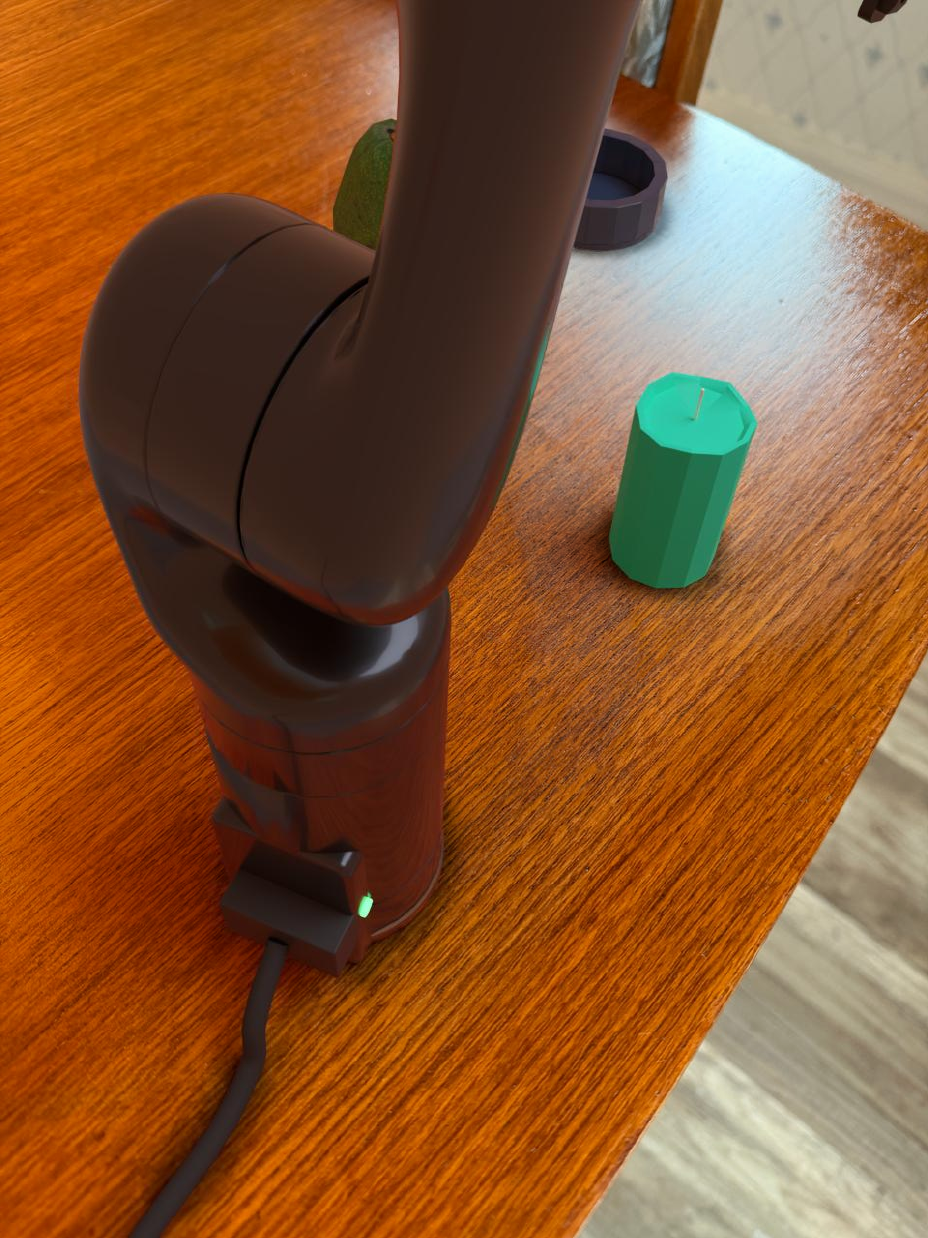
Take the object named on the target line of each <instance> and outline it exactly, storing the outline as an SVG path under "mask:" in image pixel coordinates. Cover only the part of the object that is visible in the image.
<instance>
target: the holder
mask: <svg viewBox="0 0 928 1238" xmlns="http://www.w3.org/2000/svg"><path fill="white" fill-rule="evenodd" d="M668 178H669V175H668V169H667V163H666V160H665V159H664V158H663V156H662V155H661V154H660V153H659V151H657V150H656V148H655V147H654V146H652V145H651V144H649V143H648V142H645V141H644V140H642V139H640V138H639V137H637V136H636V135H633V134H631V133H630V134H629V133H625V132H622V131H618V130H615V129H612V128H611V129H610V128H605V130H604V133H603V137H602V141H601V144H600V148H599V152H598V155H597V159H596V163H595V166H594V170H593V174H592V178H591V181H590V185H589V189H588V193H587V196H586V200H585V204H584V208H583V211H582V215H581V219H580V223H579V227H578V231H577V234H576V238H575V242H574V246H573V248H575V249H579V250H584V251H585V250H586V251H595V252H597V251H598V252H605V251H616V250H621V249H625V248H628V247H631V246H634V245H636V244H639V243H640V242H642V241H644V240H645V239H647V238H648V237H649V236H650V235H651V234H652V233H653V232H654V230H655V229H656V227H657V225H658V223H659V219H660V216H661V214H662V209H663V203H664V198H665V194H666V189H667V183H668Z"/></svg>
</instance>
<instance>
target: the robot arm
mask: <svg viewBox="0 0 928 1238" xmlns="http://www.w3.org/2000/svg"><path fill="white" fill-rule="evenodd" d="M643 2H644V0H395V7H396V16H397V26H398V27H397V28H398V87H397V88H398V89H397V106H396V119H395V120H396V128H395V137H394V145H393V154H392V162H391V169H390V175H389V181H388V188H387V194H386V200H385V206H384V213H383V218H382V223H381V227H380V232H379V237H378V242H377V247H376V251H375V250H373V249H371V248H369V247H367V246H365V245H363V244H360V243H358V242H356V241H354V240H352V239H350V238H348V237H346V236H344V235H342V234H339V233H337V232H335V231H333V229H330V228H328V227H327V226H325V225H323V224H321V223H318V222H316V221H313V220H312V219H309V218H308V217H306V216H304V215H301V214H299V213H298V212H295V211H293V210H291V209H289V208H286V207H284V206H282V205H280V204H277V203H275V202H272V201H270V200H267V199H264V198H260V197H257V196H253V195H250V194H245V193H237V192H224V193H223V192H222V193H220V192H219V193H208V194H202V195H199V196H195V197H192V198H189V199H186V200H184V201H182V202H180V203H178V204H175V205H173V206H172V207H169V208H167V209H166V210H164V211H163V212H161V213H159V214H158V215H157V216H155V217H154V218H153V219H151V220H150V221H149V222H146V224H145V225H143V226H142V227H141V229H139V230H138V231H137V232H136V233H135V234H134V235H133V236H132V237H131V238H130V240H129V241H128V242H127V243H126V245H124V247H123V248H122V249H121V251H120V252H119V254H118V255H117V257H116V258H115V260H114V261H113V263H112V264H111V266H110V268H109V270H108V272H107V274H106V275H105V277H104V279H103V281H102V283H101V285H100V287H99V289H98V292H97V294H96V297H95V298H94V301H93V304H92V307H91V310H90V313H89V316H88V319H87V323H86V326H85V330H84V335H83V338H82V344H81V352H80V358H79V359H80V360H79V371H78V372H79V373H78V410H79V423H80V427H81V428H80V429H81V433H82V440H83V444H84V450H85V454H86V458H87V463H88V464H89V468H90V472H91V475H92V478H93V479H92V480H93V482H94V486H95V488H96V491H97V493H98V497H99V499H100V503H101V505H102V508H103V510H104V511H103V512H104V513H105V517H106V518H107V522H108V524H109V526H110V528H111V532H112V534H113V536H114V539H115V541H116V544H117V546H118V549H119V553H120V556H121V557H122V559H123V563H124V565H125V568H126V570H127V572H128V575H129V577H130V580H131V582H132V585H133V588H134V591H135V593H136V596H137V598H138V601H139V603H140V605H141V607H142V610H143V613H144V614H145V616H146V618H147V620H148V622H149V623H150V626H151V627H152V628H153V630H154V631H155V633H156V635H157V636H158V637H159V639H160V640H161V641H162V643H163V644H164V645H165V646H166V647H167V649H168V650H169V651H170V652H171V653H172V654H173V655H174V656H175V658H177V660H178V661H179V662H180V663H181V664H182V665H183V666H184V667H185V669H186V670H187V671H188V672H187V673H188V675H189V678H190V680H191V683H192V688H193V691H194V694H195V698H196V701H197V705H198V709H199V712H200V713H199V714H200V716H201V721H202V724H203V728H204V732H205V736H206V740H207V742H208V746H209V747H208V748H209V750H210V753H211V754H210V755H211V757H212V761H213V764H214V768H215V773H216V775H217V780H218V783H219V786H220V790H221V794H222V795H221V797H220V799H219V800H218V802H217V803H216V805H215V807H214V808H213V810H212V812H211V814H210V817H209V818H210V821H211V825H212V829H213V831H214V835H215V838H216V841H217V842H216V843H217V845H218V848H219V852H220V855H221V857H222V862H223V865H224V868H225V871H226V875H227V878H228V881H229V884H228V886H227V888H226V889H225V892H224V893H223V894H222V896H221V898H220V900H219V902H218V906H219V909H220V913H221V914H222V918H223V921H224V924H225V927H226V929H227V931H229V932H232V933H234V934H237V935H238V936H241V937H243V938H245V939H247V940H250V941H252V942H254V943H256V944H259V945H261V946H264V948H263V951H262V953H261V957H260V958H259V959H260V960H259V963H258V965H257V969H256V971H255V974H254V977H253V980H252V983H251V986H250V989H249V993H248V996H247V998H246V999H247V1000H246V1002H245V1006H244V1011H243V1015H242V1020H241V1027H240V1029H241V1030H240V1031H241V1033H240V1034H241V1044H242V1052H241V1057H240V1060H239V1062H238V1066H237V1068H236V1071H235V1073H234V1075H233V1078H232V1081H231V1083H230V1084H229V1087H228V1089H227V1091H226V1093H225V1095H224V1097H223V1099H222V1100H221V1103H220V1105H219V1106H218V1108H217V1110H216V1112H215V1113H214V1115H213V1117H212V1119H211V1120H210V1122H209V1123H208V1125H207V1126H206V1128H205V1129H204V1131H203V1132H202V1135H201V1136H200V1137H199V1139H198V1140H197V1141H196V1143H195V1145H194V1146H193V1147H192V1149H191V1150H190V1152H188V1155H187V1156H186V1157H185V1158H184V1160H183V1161H182V1163H181V1164H180V1165H179V1167H178V1168H177V1170H176V1171H175V1172H174V1173H173V1175H172V1176H171V1178H170V1179H169V1180H168V1182H167V1183H166V1184H165V1186H164V1187H163V1188H162V1190H161V1191H160V1192H159V1194H157V1196H156V1198H155V1199H154V1200H153V1202H151V1204H150V1205H149V1207H148V1208H147V1210H146V1211H145V1212H144V1214H143V1215H142V1217H140V1219H139V1220H138V1222H137V1223H136V1225H135V1226H134V1228H133V1229H132V1230H131V1232H130V1233H129V1235H128V1236H127V1238H161V1236H162V1234H163V1233H164V1231H165V1230H166V1229H167V1228H168V1226H169V1225H170V1223H171V1222H172V1221H173V1219H174V1218H175V1216H176V1215H177V1213H178V1212H179V1211H180V1209H181V1208H182V1207H183V1205H184V1204H185V1202H186V1201H187V1200H188V1198H189V1197H190V1195H192V1193H193V1192H194V1190H195V1189H196V1187H197V1186H198V1185H199V1183H200V1182H201V1181H202V1180H203V1178H204V1176H205V1175H206V1174H207V1172H208V1170H209V1169H210V1168H211V1166H212V1165H213V1163H214V1162H215V1161H216V1159H217V1158H218V1156H219V1154H220V1153H221V1152H222V1150H223V1149H224V1147H225V1145H226V1144H227V1142H228V1140H230V1137H231V1135H233V1132H234V1131H235V1129H236V1127H237V1125H238V1123H239V1122H240V1120H241V1118H242V1116H243V1114H244V1112H245V1110H246V1108H247V1106H248V1105H249V1102H250V1100H251V1098H252V1095H253V1093H254V1092H255V1089H256V1087H257V1085H258V1081H259V1079H260V1077H261V1074H262V1072H263V1069H264V1067H265V1063H266V1059H267V1043H266V1029H267V1022H268V1018H269V1015H270V1014H269V1013H270V1010H271V1006H272V1002H273V999H274V995H275V993H276V989H277V987H278V984H279V981H280V978H281V975H282V972H283V969H284V967H285V963H286V960H287V958H288V957H289V958H290V959H293V960H295V961H297V962H299V963H302V964H304V965H306V966H309V967H310V968H313V969H315V970H318V971H320V972H322V973H324V974H326V975H328V976H331V977H333V978H336V979H339V978H340V977H341V975H342V974H343V971H344V969H345V967H346V966H347V965H346V964H347V963H348V962H350V963H352V964H358V963H361V962H362V960H363V959H364V957H365V955H366V952H367V951H368V949H369V948H370V946H371V945H372V944H373V943H376V942H379V941H380V940H384V939H385V938H388V937H389V936H391V935H393V934H395V933H397V932H398V931H399V930H401V929H402V928H404V927H405V926H406V925H408V924H409V923H410V922H411V921H413V920H414V918H415V917H416V916H417V915H418V914H420V912H421V911H422V910H423V909H424V907H425V906H426V904H427V903H428V902H429V900H430V899H431V897H432V896H433V894H434V891H435V890H436V887H437V885H438V883H439V881H440V877H441V873H442V870H443V864H444V852H445V837H444V836H445V835H444V827H443V825H444V824H443V823H444V797H445V772H446V771H445V769H446V750H447V749H446V747H447V728H448V727H447V725H448V724H447V723H448V702H449V701H448V700H449V688H450V687H449V686H450V665H451V664H450V663H451V644H452V643H451V641H452V602H451V595H450V589H449V585H450V584H451V582H452V581H453V580H454V579H455V578H456V577H457V575H459V573H460V571H461V570H462V569H463V568H464V566H465V564H466V562H467V561H468V559H469V557H470V556H471V553H472V552H473V551H474V549H475V547H476V546H477V544H478V542H479V540H480V538H481V536H482V535H483V533H484V531H485V529H486V528H487V526H488V524H489V521H490V520H491V518H492V514H493V512H494V510H495V508H496V506H497V504H498V501H499V500H500V496H501V494H502V491H503V489H504V487H505V484H506V483H507V480H508V478H509V475H510V472H511V469H512V467H513V464H514V461H515V458H516V455H517V453H518V450H519V446H520V444H521V440H522V436H523V435H524V431H525V427H526V423H527V420H528V417H529V414H530V410H531V406H532V404H533V400H534V397H535V393H536V389H537V385H538V381H539V378H540V374H541V371H542V367H543V364H544V361H545V358H546V354H547V349H548V345H549V342H550V338H551V335H552V331H553V328H554V327H553V326H554V322H555V319H556V315H557V311H558V307H559V303H560V299H561V296H562V293H563V292H562V291H563V288H564V284H565V281H566V276H567V272H568V269H569V266H570V265H569V264H570V262H571V257H572V253H573V249H574V247H573V246H574V242H575V238H576V234H577V231H578V227H579V223H580V219H581V215H582V211H583V208H584V204H585V200H586V196H587V193H588V189H589V185H590V181H591V178H592V174H593V170H594V166H595V163H596V159H597V155H598V152H599V148H600V144H601V141H602V137H603V133H604V130H605V129H606V126H607V122H608V119H609V114H610V111H611V108H612V103H613V100H614V97H615V93H616V89H617V86H618V84H619V79H620V77H621V73H622V70H623V66H624V63H625V59H626V56H627V52H628V49H629V46H630V43H631V39H632V35H633V32H634V29H635V26H636V24H637V21H638V17H639V15H640V11H641V8H642V6H643ZM907 2H908V0H862V2H861V4H860V6H859V8H858V10H857V16H856V17H858V18H859V19H861V20H863V21H865V22H867V23H869V24H875V23H879V22H882V21H883V20H884V19H885V18H886V16H887V15H892V14H897V13H899V11H900V10H901V9H902V8H903V7H904V6H905V5H906V4H907Z"/></svg>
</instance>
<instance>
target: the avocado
mask: <svg viewBox="0 0 928 1238" xmlns="http://www.w3.org/2000/svg"><path fill="white" fill-rule="evenodd" d="M396 120H397V119H395V118H392V117H390V118H387V119H384V120H381V121H376V122H373V123H372V124H371V125H370V126H369V127H368V129H367V130H366V131H365V132H364V133H363V134H362V135H361V137H359V139H358V140H357V142H356V143H355V145H354V146H353V148H352V151H351V153H350V155H349V158H348V161H347V164H346V167H345V170H344V173H343V176H342V178H341V182H340V185H339V187H338V191H337V194H336V197H335V200H334V204H333V207H332V230H333V231H335V232H337V233H339V234H342V235H344V236H346V237H348V238H350V239H352V240H354V241H356V242H358V243H360V244H363V245H365V246H367V247H369V248H371V249H373V250H375V251H376V247H377V242H378V237H379V232H380V227H381V223H382V218H383V213H384V206H385V200H386V194H387V188H388V181H389V175H390V169H391V162H392V154H393V145H394V137H395V128H396Z"/></svg>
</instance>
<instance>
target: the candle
mask: <svg viewBox="0 0 928 1238" xmlns="http://www.w3.org/2000/svg"><path fill="white" fill-rule="evenodd" d="M757 427H758V421H757V418H756V416H755V414H754V412H753V410H752V408H751V406H750V404H749V403H748V402H747V401H746V399H745V398H744V397H743V396H742V395H741V393H740V392H739V391H738V389H736V387H735V386H734V384H733V383H732V382H729V381H725V380H720V379H715V378H711V377H706V376H701V375H696V374H695V375H694V374H687V373H682V372H675V371H674V372H673V371H671V372H670V373H669V372H668V373H667V374H665V375H663V376H661V377H660V378H657V379H656V380H653V381H652V382H650V383H648V384H647V385H646V386H645V388H644V390H643V392H642V394H641V395H640V396H639V399H638V400H637V402H636V404H635V408H634V413H633V418H632V423H631V428H630V432H629V437H628V442H627V447H626V452H625V457H624V461H623V466H622V467H623V468H622V471H621V475H620V480H619V486H618V491H617V495H616V501H615V506H614V509H613V515H612V520H611V523H610V529H609V535H608V543H609V548H610V555H611V559H612V561H613V562H614V563H615V564H616V566H618V568H619V569H621V571H622V572H623V573H624V575H626V576H627V578H629V579H630V580H633V581H636V582H638V583H641V584H643V585H646V586H648V587H650V588H653V589H655V590H656V589H684V588H686V587H688V586H689V585H691V584H693V583H695V582H697V581H698V580H700V579H703V578H704V577H705V576H706V575H707V573H708V571H709V569H710V567H711V565H712V563H713V560H714V559H715V556H716V553H717V550H718V547H719V543H720V540H721V538H722V534H723V533H724V528H725V525H726V523H727V519H728V515H729V513H730V509H731V508H732V503H733V500H734V498H735V494H736V491H737V488H738V485H739V481H740V479H741V477H742V473H743V470H744V467H745V464H746V460H747V457H748V455H749V451H750V448H751V444H752V442H753V438H754V436H755V433H756V430H757Z"/></svg>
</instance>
